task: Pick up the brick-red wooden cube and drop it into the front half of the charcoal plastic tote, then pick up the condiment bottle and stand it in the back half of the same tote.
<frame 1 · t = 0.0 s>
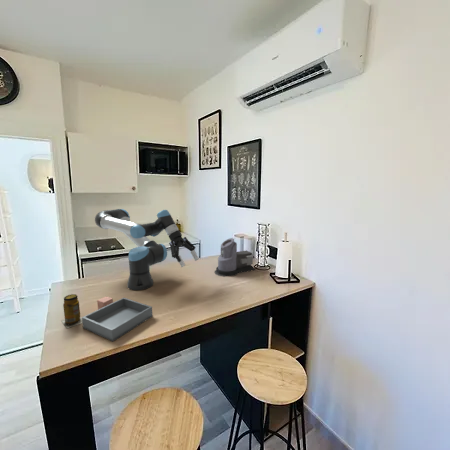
hand: (190, 263, 147), 15 cm above the counter, tool tilted 35°, fingers open, 13 cm apart
cube: (105, 308, 124), on the counter
condiment: (73, 322, 112), on the counter
tote: (119, 322, 112), on the counter
juicer: (234, 271, 179), on the counter
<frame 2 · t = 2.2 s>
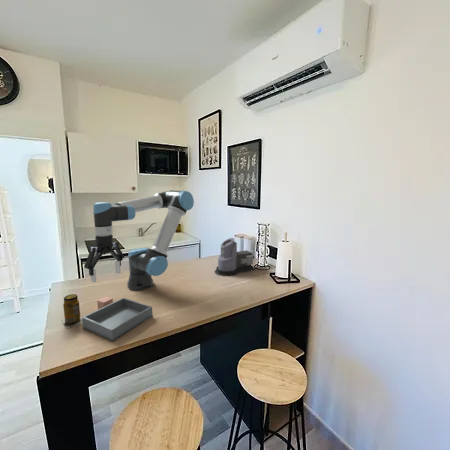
hand: (106, 277, 121), 17 cm above the counter, tool pointing down, fingers open, 13 cm apart
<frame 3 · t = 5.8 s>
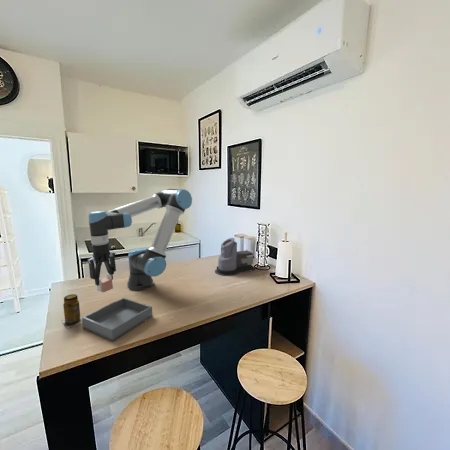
hand: (105, 288, 122), 10 cm above the counter, tool pointing down, fingers closed on cube, 5 cm apart
cube: (105, 289, 122), point 10 cm above the counter, touching gripper
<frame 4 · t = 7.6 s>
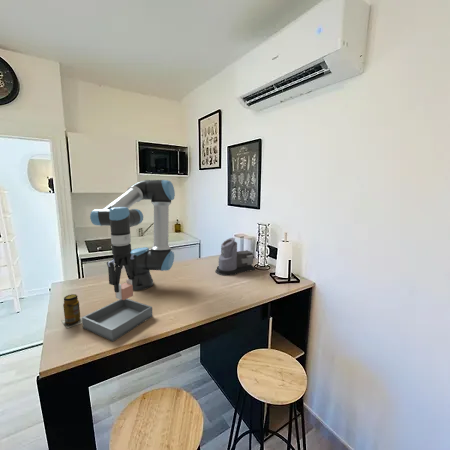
hand: (124, 295, 107), 14 cm above the counter, tool pointing down, fingers closed on cube, 5 cm apart
cube: (124, 296, 107), point 14 cm above the counter, touching gripper
when the fingers open (1 cm above the counter, at t = 9.7 s): cube stays where it is, resting on tote.
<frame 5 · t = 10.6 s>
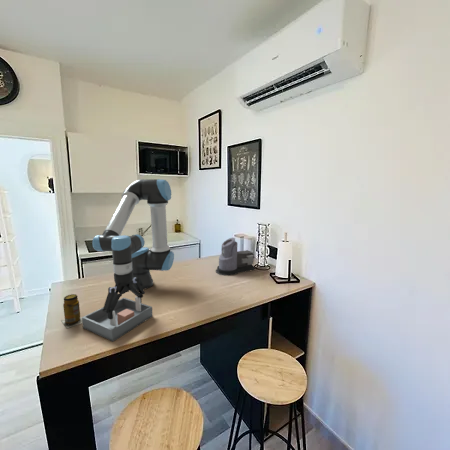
hand: (126, 317, 109), 4 cm above the counter, tool pointing down, fingers open, 13 cm apart
cube: (126, 322, 109), point 1 cm above the counter, touching tote
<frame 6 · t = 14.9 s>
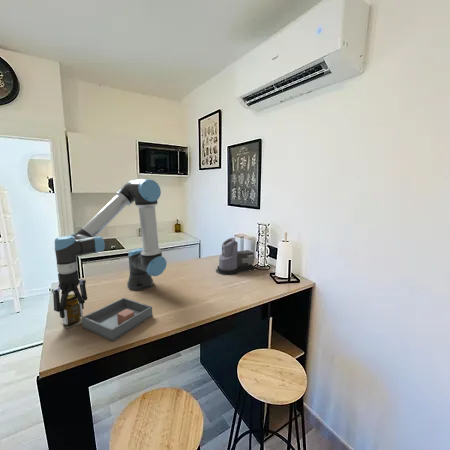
hand: (73, 319, 112), 1 cm above the counter, tool pointing down, fingers closed on condiment, 6 cm apart
condiment: (72, 322, 111), on the counter, touching gripper
when the fingers open (3 cm above the counter, at t = 20.9 s): condiment drops 1 cm, resting on tote.
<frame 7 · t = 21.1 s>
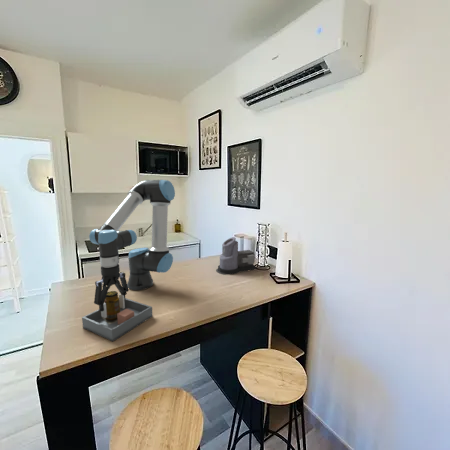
hand: (113, 312, 113), 4 cm above the counter, tool pointing down, fingers open, 9 cm apart
condiment: (113, 318, 113), point 1 cm above the counter, touching tote
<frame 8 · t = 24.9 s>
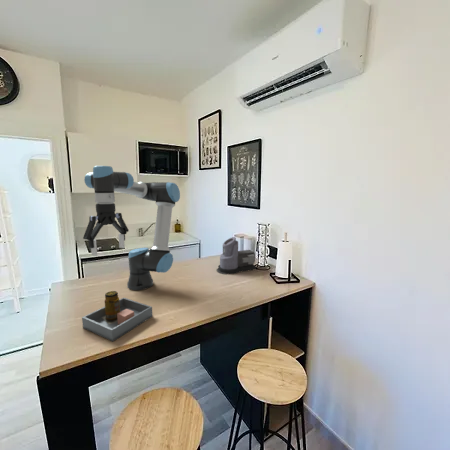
hand: (109, 251, 108), 33 cm above the counter, tool pointing down, fingers open, 13 cm apart
at the end: cube inside the target area on the tote (4.9 cm from its centre), point 1.0 cm above the tote's base; condiment inside the target area on the tote (3.5 cm from its centre), point 0.8 cm above the tote's base; condiment tilted 0° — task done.
